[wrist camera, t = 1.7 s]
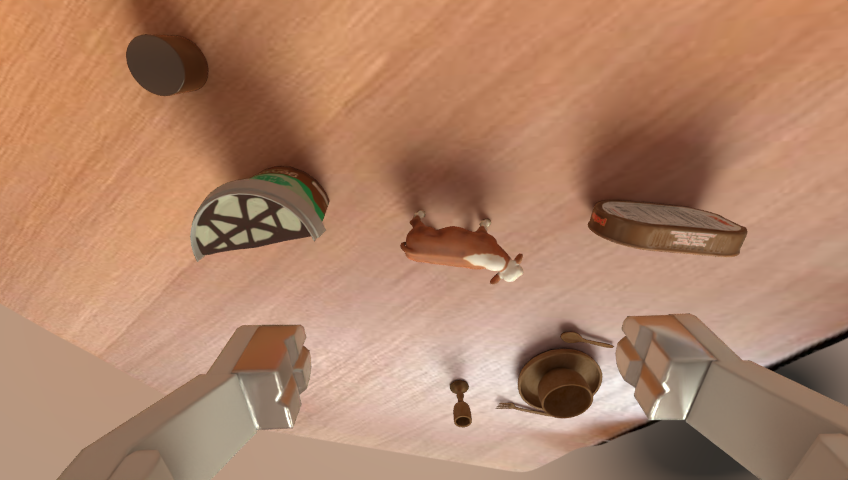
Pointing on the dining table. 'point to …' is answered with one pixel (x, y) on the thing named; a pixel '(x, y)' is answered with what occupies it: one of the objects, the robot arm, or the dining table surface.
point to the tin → (666, 228)
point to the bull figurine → (460, 249)
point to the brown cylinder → (166, 64)
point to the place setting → (548, 383)
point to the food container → (259, 212)
